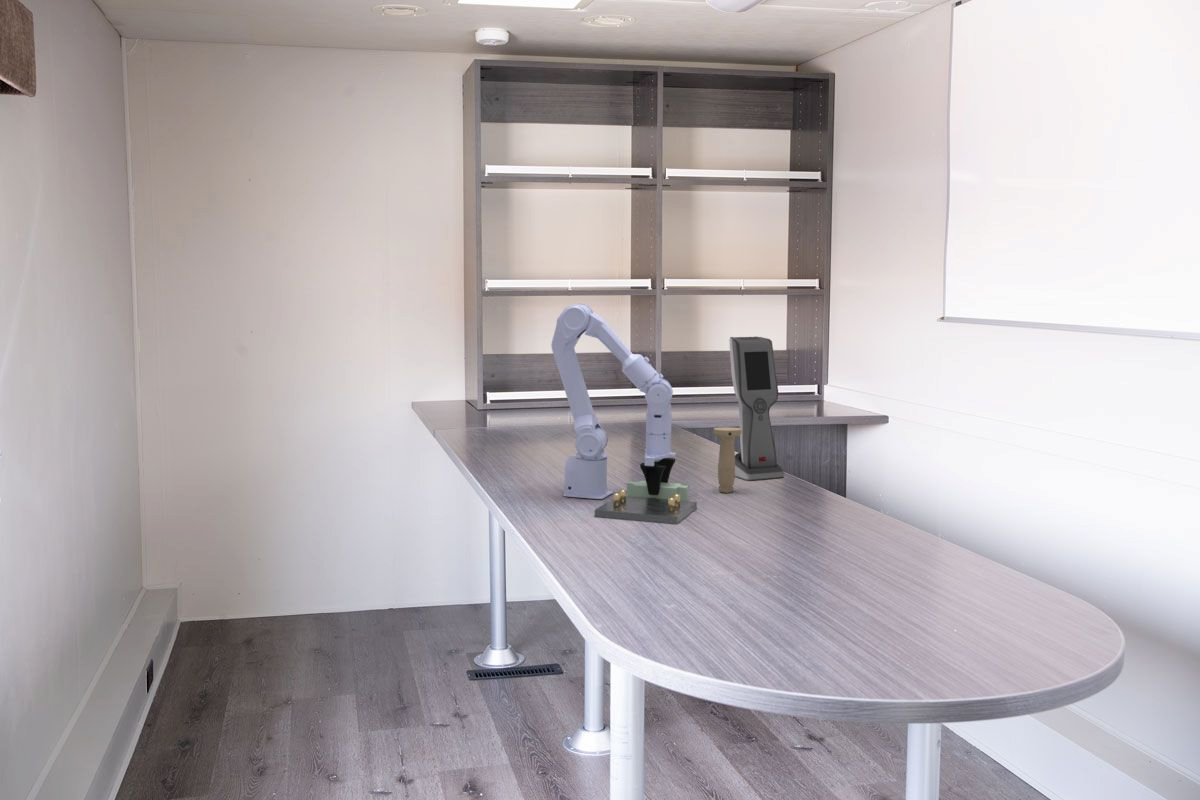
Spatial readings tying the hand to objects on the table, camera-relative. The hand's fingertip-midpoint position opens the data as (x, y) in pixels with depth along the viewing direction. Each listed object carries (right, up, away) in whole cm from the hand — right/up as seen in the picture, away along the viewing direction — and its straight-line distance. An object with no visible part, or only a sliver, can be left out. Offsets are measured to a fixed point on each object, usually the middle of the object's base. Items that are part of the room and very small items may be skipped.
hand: (657, 492), depth 250 cm
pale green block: (0, -1, 0) cm, 1 cm away
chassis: (-3, -3, -14) cm, 15 cm away
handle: (+17, -1, +8) cm, 18 cm away
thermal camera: (+26, +2, +29) cm, 39 cm away
